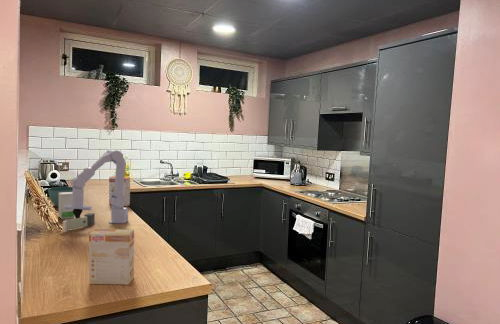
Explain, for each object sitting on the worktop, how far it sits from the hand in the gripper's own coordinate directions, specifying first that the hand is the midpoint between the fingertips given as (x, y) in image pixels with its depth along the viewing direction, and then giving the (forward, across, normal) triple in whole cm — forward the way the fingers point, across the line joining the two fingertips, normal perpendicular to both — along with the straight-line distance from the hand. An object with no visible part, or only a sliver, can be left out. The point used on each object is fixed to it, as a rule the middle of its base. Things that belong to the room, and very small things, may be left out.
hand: (77, 222), depth 210 cm
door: (+3, +2, -2) cm, 4 cm away
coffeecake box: (+3, +46, -68) cm, 82 cm away
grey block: (+3, +3, +8) cm, 9 cm away
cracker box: (+3, +2, +60) cm, 60 cm away
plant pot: (+3, -35, +52) cm, 63 cm away
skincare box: (+3, -17, +21) cm, 27 cm away
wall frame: (+3, -3, -1) cm, 4 cm away
